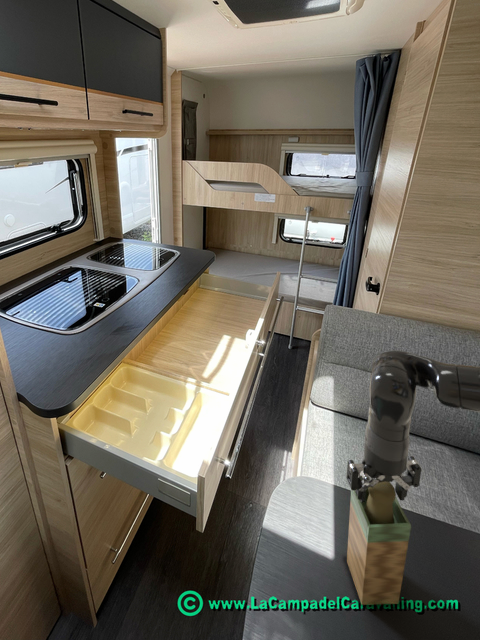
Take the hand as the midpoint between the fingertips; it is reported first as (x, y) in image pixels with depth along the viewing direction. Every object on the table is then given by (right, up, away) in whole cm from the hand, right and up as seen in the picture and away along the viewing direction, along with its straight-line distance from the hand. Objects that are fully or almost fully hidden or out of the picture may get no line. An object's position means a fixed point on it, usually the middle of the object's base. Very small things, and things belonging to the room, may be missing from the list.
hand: (380, 497), depth 71 cm
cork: (+1, -7, +3) cm, 7 cm away
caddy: (+4, -30, +11) cm, 33 cm away
